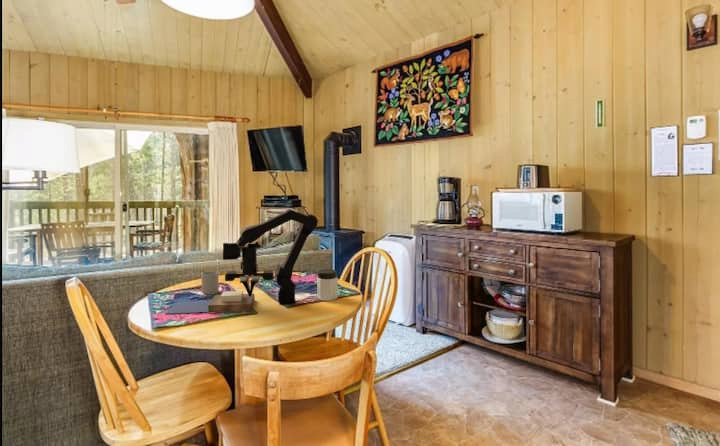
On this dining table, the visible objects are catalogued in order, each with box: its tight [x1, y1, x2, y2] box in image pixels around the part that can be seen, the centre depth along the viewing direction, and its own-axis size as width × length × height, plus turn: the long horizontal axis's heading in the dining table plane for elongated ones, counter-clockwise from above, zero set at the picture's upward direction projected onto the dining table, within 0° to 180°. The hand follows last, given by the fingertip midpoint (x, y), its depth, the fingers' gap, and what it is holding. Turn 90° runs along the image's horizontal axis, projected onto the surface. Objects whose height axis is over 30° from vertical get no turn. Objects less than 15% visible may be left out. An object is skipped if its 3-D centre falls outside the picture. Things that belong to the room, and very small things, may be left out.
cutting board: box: [208, 293, 256, 313], centre depth 173 cm, size 16×14×3 cm
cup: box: [200, 270, 220, 295], centre depth 193 cm, size 7×10×9 cm
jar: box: [316, 268, 338, 302], centre depth 184 cm, size 9×8×12 cm
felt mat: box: [165, 300, 212, 315], centre depth 171 cm, size 16×14×1 cm
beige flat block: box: [220, 290, 244, 302], centre depth 173 cm, size 8×6×2 cm
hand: (250, 296), depth 174 cm, fingers closed
